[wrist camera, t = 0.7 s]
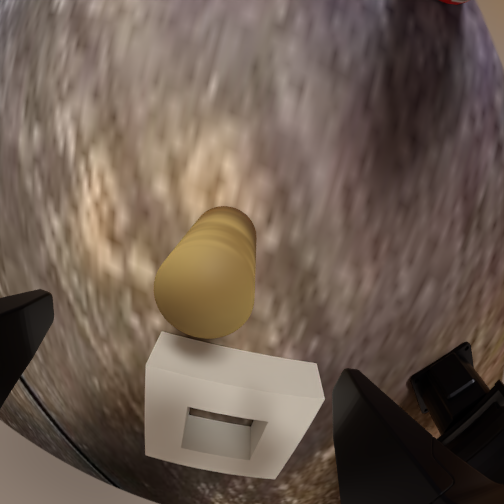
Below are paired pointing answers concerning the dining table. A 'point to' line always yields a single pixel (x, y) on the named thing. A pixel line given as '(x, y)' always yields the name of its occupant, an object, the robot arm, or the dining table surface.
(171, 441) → the socket block
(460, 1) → the beer can
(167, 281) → the peg
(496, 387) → the robot arm
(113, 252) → the dining table surface
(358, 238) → the dining table surface
